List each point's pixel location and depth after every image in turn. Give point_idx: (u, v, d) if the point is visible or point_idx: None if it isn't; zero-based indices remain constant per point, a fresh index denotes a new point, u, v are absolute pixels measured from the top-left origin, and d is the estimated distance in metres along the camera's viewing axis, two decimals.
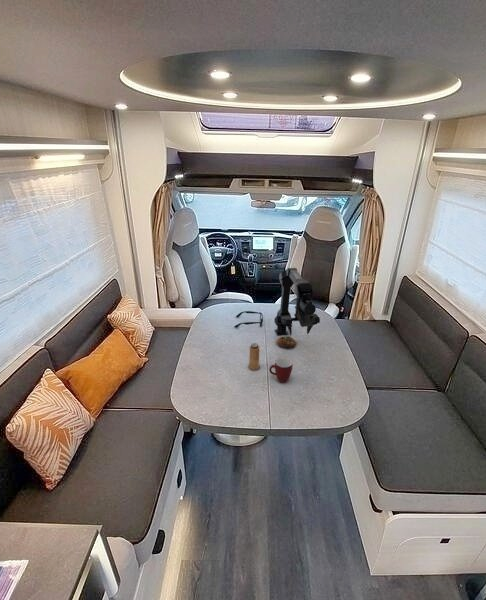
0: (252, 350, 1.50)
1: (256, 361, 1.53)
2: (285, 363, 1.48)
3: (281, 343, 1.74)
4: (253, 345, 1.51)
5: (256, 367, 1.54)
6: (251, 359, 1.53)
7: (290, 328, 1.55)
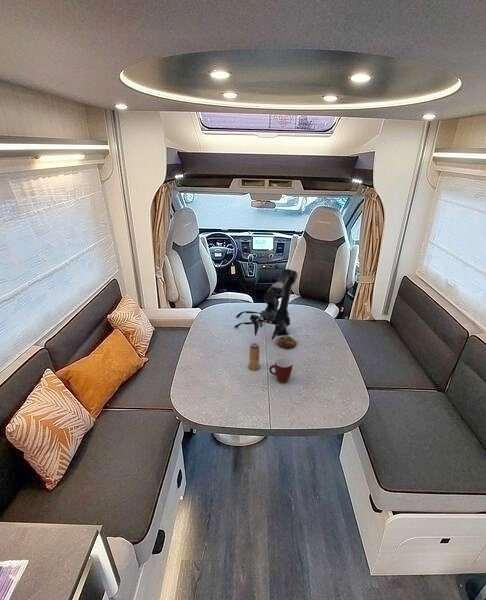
0: (252, 350, 1.50)
1: (256, 361, 1.53)
2: (285, 363, 1.48)
3: (281, 343, 1.74)
4: (253, 345, 1.51)
5: (256, 367, 1.54)
6: (251, 359, 1.53)
7: (255, 326, 1.60)
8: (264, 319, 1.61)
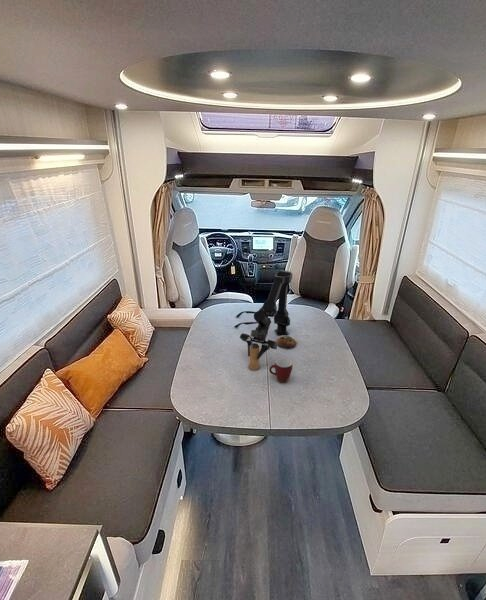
0: (252, 350, 1.50)
1: (256, 361, 1.53)
2: (285, 363, 1.48)
3: (281, 343, 1.74)
4: (253, 345, 1.51)
5: (256, 367, 1.54)
6: (251, 359, 1.53)
7: (249, 346, 1.54)
8: (255, 338, 1.56)
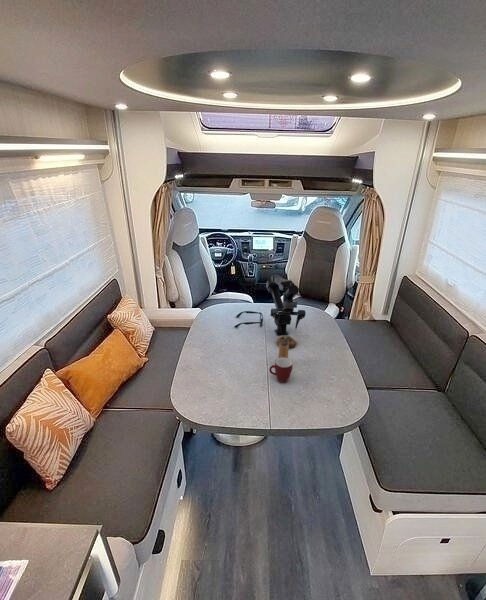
0: (284, 347, 1.53)
1: (287, 357, 1.56)
2: (285, 363, 1.48)
3: None
4: (283, 342, 1.54)
5: None
6: (282, 356, 1.55)
7: (277, 318, 1.68)
8: (283, 311, 1.70)
